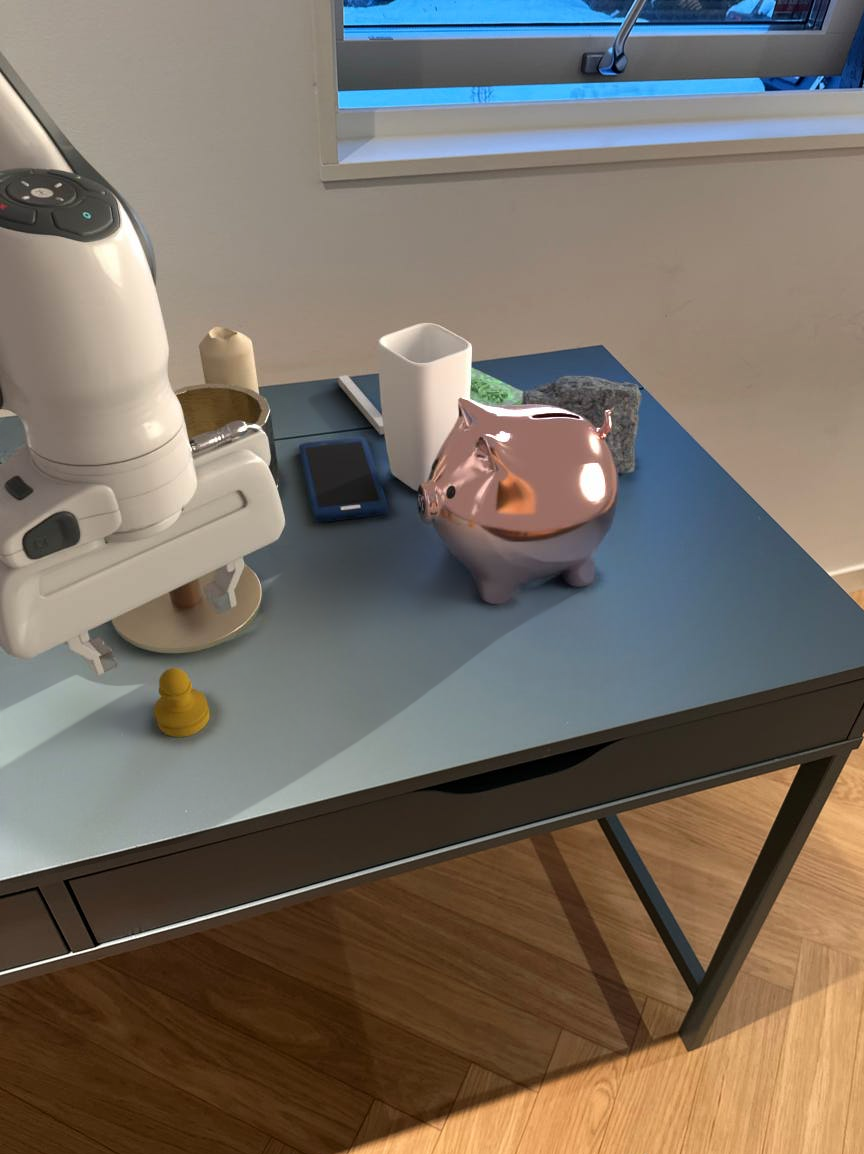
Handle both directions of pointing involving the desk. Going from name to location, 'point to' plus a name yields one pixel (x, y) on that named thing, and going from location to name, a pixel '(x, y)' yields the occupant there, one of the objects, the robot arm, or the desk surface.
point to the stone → (597, 409)
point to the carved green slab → (492, 390)
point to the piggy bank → (522, 494)
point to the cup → (420, 395)
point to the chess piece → (180, 705)
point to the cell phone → (342, 479)
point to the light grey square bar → (362, 402)
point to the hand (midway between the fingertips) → (164, 635)
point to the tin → (226, 412)
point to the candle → (228, 359)
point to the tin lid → (190, 617)
